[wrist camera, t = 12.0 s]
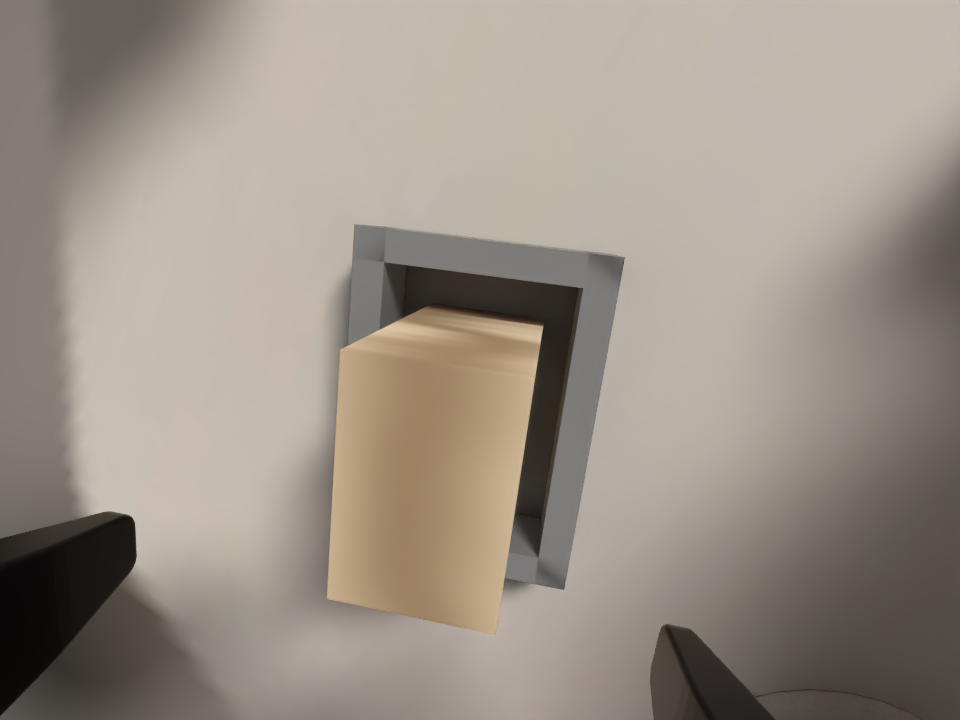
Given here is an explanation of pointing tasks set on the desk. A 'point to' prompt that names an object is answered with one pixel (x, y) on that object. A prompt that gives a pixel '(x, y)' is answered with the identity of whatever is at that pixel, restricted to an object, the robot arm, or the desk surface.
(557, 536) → the collar
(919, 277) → the desk surface
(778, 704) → the mate gourd
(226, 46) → the desk surface
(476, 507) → the block
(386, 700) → the desk surface
